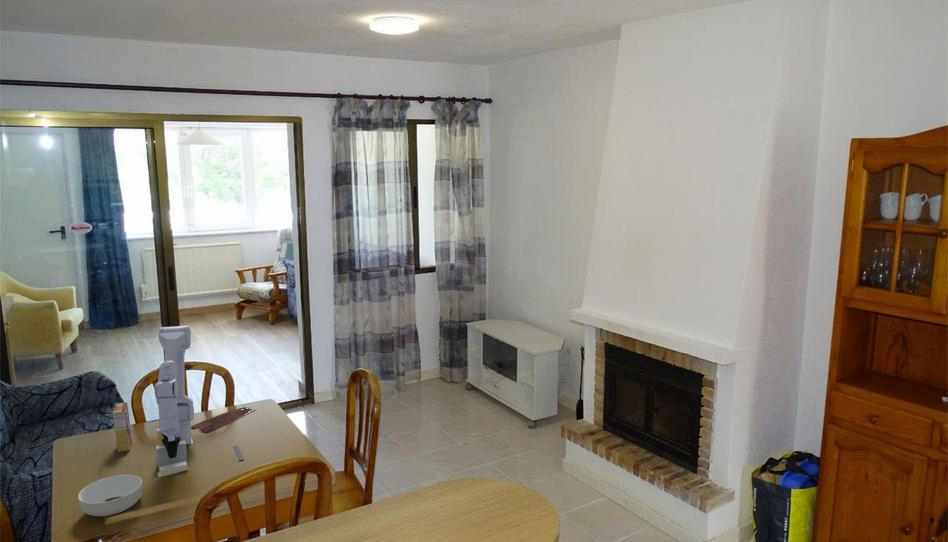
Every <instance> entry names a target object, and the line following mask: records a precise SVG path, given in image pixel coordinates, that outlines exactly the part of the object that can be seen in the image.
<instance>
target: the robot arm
mask: <svg viewBox="0 0 948 542" xmlns="http://www.w3.org/2000/svg"><path fill="white" fill-rule="evenodd" d="M191 339H192V337H191V328H190V326H189V325H188V324H187V325H177V326H161V327H160V328H159V330H158V341H159V344H160V345H161V347H162V349H163V350H164V357H163V358H164V359H163V361H164V362H162V363H161V364H160V366H159V373H158V380H157V383H156V382H155V384H154V397H155V401H156V405H157V407H158V408H157V409H158V419H159V427H158V428H156V429H155V430H156V431H155V432H156V433H160V434H161V436H162V437H163V438H161V443H162V445H164V446H165V447H166V450H167V453H168V456H169V458H175V457H176V455H177V448H178V444H179V442H180V441H185V442H186V446H187V445H190V444H193V443H194V441H193V438H192V429H191V422H192V421H193V420H194V417H195V408H194V401H193V399H192V398H190V397H189V396H187V395H186V393H185V390H186V389H185V387H186V386H185V381H186V380H185V353H186V350H188V349H190V348H191V344H192V343H191V342H192V340H191Z"/></svg>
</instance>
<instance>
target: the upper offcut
mask: <svg viewBox="0 0 948 542" xmlns="http://www.w3.org/2000/svg"><path fill="white" fill-rule="evenodd" d="M188 467H189V466H188V463H187V461H182V462H178V463H174V464H170V465H166V466H161V467H158V468H159V472H160V474H161V476H162V477H166V476H170V475H174V474H177V473H180V472H184V471H188V469H189V468H188ZM173 473H174V474H173ZM169 474H170V475H169ZM165 475H166V476H165Z"/></svg>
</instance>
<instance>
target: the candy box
mask: <svg viewBox="0 0 948 542" xmlns="http://www.w3.org/2000/svg"><path fill="white" fill-rule="evenodd" d="M128 406H129V405H128V402H121V403H116V404H115V405H114V408H113V412H112V418H113V426H114V432H115V439H116V448H117V453H121V452H120V451H123V452H129V451H131V447H132V443H133V436H132V428H131V421H130V413H129V412H130V411H129V407H128ZM128 450H129V451H128Z"/></svg>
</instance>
